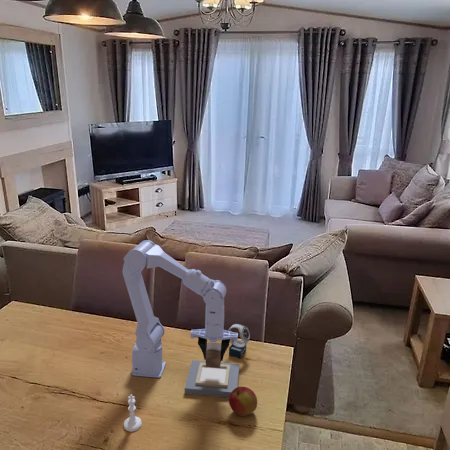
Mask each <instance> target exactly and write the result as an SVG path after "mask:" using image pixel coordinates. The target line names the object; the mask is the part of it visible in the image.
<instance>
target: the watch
mask: <svg viewBox="0 0 450 450" xmlns="http://www.w3.org/2000/svg"><path fill="white" fill-rule="evenodd" d="M232 329H238V330H237V331H238V333H239V337H240V339H241V340H237V342H234V340H230V343H229V344H231V345H229V347H228V356H229V357H233V358H236V359H239V360H240V359H241V358H242V357H243V356H244V354H245V353H246V351H247V345H248V343H249V341H250V339H251V333H250V330H249V328H248V327H247V326H244V325H242V324H241V323H240V324H239V323H234V324H232V325H231V326H230V327H229V328H228V330H227V331H230V332H232Z"/></svg>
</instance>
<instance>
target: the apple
mask: <svg viewBox="0 0 450 450" xmlns="http://www.w3.org/2000/svg"><path fill="white" fill-rule="evenodd" d="M228 404H229V407H230V409H231V410H232V411H233V413H235V414H236V415H238V416H239V417H240V416H242V417H243V416H244V417H245V416H249V415H250V414H253V413H254V412H255V411H256V409H257V407H258V397H257V395H256V393H255V392H254V391H253V390H252V389H251V388H250V387H246V386H238V387H237V388H235V389H234V390H233V391H232V392H231V393H230V396H229V397H228Z"/></svg>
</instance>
